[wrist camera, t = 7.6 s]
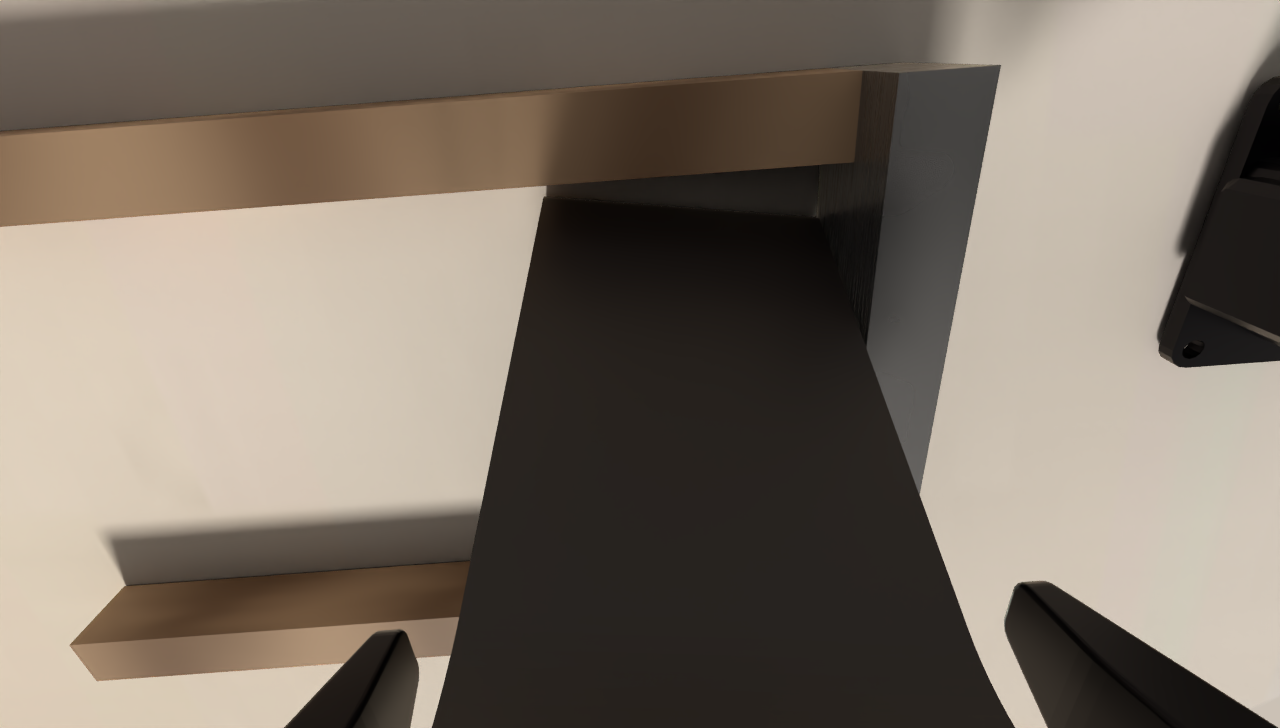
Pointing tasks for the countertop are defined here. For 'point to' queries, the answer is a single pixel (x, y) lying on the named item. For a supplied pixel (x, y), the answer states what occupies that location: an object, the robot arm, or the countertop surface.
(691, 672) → the phone stand
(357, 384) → the countertop surface
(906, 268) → the end stop
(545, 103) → the guide track
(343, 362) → the countertop surface
